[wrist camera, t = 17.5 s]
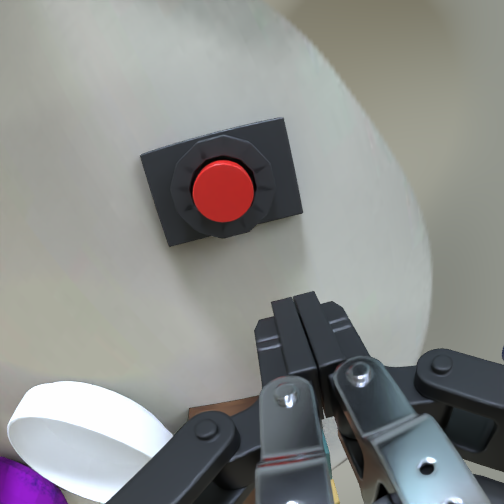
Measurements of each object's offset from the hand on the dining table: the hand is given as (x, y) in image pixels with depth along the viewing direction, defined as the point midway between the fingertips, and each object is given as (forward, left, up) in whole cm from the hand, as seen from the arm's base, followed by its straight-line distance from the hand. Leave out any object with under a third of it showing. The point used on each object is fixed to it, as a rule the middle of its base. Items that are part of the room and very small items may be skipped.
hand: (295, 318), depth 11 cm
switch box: (+2, -3, -14) cm, 14 cm away
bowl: (+23, +19, -14) cm, 33 cm away
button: (+2, -3, -11) cm, 12 cm away
